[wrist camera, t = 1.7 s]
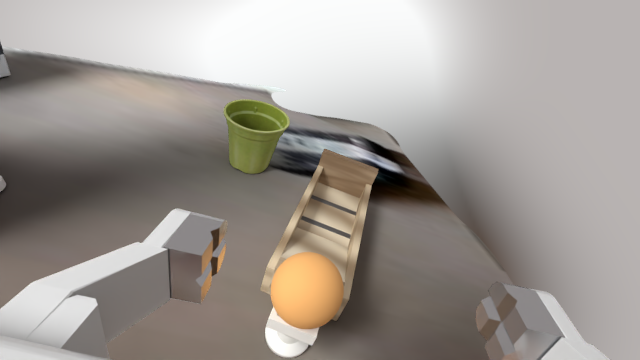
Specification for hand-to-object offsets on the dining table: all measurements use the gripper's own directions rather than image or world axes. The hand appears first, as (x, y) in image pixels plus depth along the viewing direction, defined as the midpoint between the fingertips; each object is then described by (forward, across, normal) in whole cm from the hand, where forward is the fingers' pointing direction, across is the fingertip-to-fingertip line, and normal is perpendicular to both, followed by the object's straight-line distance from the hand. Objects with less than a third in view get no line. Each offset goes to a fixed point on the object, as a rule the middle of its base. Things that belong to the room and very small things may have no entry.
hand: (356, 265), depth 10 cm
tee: (+12, +1, +21) cm, 24 cm away
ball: (+11, +1, +17) cm, 20 cm away
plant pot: (+37, +13, +18) cm, 43 cm away
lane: (+26, -1, +20) cm, 33 cm away
